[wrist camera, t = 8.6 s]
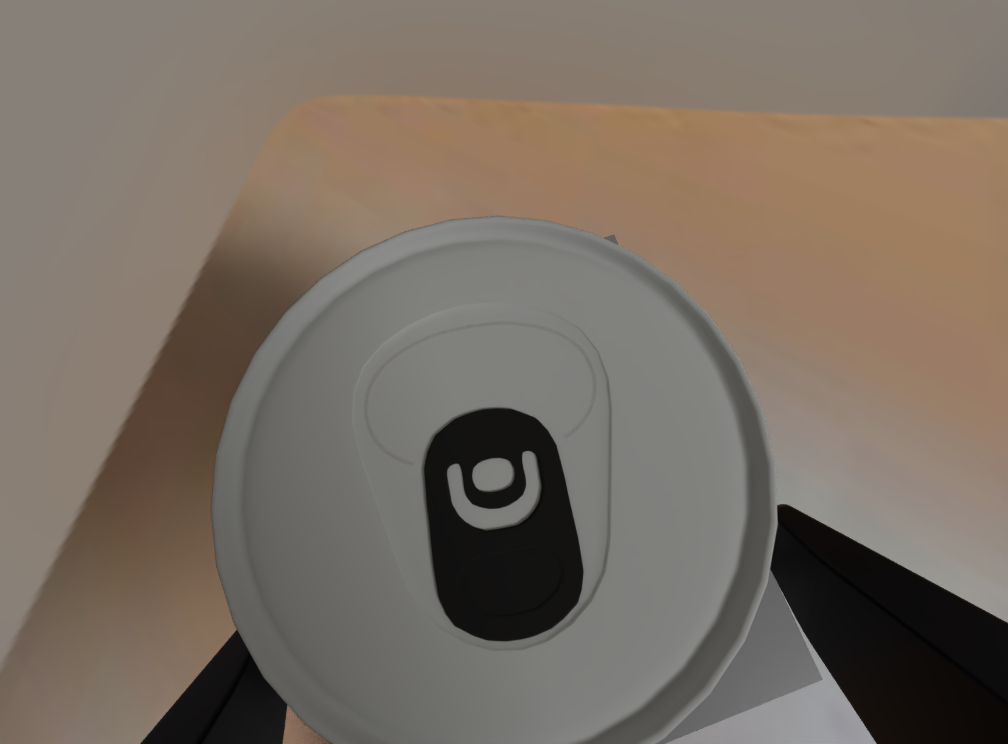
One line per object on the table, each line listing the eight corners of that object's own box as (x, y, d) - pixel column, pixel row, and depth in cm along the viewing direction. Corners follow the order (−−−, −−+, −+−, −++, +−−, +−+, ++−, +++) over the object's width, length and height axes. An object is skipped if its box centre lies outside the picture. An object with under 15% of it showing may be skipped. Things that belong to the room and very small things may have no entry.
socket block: (778, 655, 17) (822, 679, 14) (392, 809, 16) (370, 862, 14) (602, 265, 21) (613, 234, 19) (290, 369, 20) (260, 349, 18)
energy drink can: (572, 411, 19) (728, 121, 5) (606, 571, 18) (987, 814, 3) (423, 438, 19) (148, 216, 5) (444, 601, 18) (119, 987, 3)
